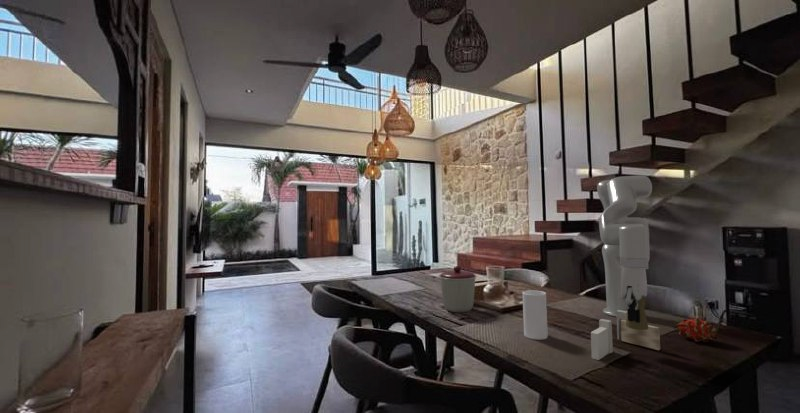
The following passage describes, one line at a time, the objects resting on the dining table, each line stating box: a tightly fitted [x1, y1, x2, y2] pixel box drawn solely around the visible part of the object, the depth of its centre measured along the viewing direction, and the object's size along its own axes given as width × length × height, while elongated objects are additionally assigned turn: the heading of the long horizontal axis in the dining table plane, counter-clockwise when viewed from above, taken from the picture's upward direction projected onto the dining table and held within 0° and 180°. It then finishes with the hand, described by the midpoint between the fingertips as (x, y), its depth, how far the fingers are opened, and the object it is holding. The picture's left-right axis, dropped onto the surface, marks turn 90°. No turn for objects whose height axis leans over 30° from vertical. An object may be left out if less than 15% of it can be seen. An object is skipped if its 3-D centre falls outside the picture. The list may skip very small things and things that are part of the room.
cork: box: [626, 295, 649, 330], centre depth 110 cm, size 6×6×11 cm
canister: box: [438, 265, 478, 313], centre depth 165 cm, size 18×18×21 cm
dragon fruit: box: [673, 316, 720, 343], centre depth 119 cm, size 8×8×12 cm
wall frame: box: [590, 310, 627, 361], centre depth 116 cm, size 31×3×10 cm, turn 129°
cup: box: [522, 289, 549, 341], centre depth 128 cm, size 8×8×16 cm
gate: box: [618, 319, 661, 351], centre depth 115 cm, size 12×2×7 cm, turn 35°
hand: (636, 319), depth 110 cm, fingers closed on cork, 4 cm apart
